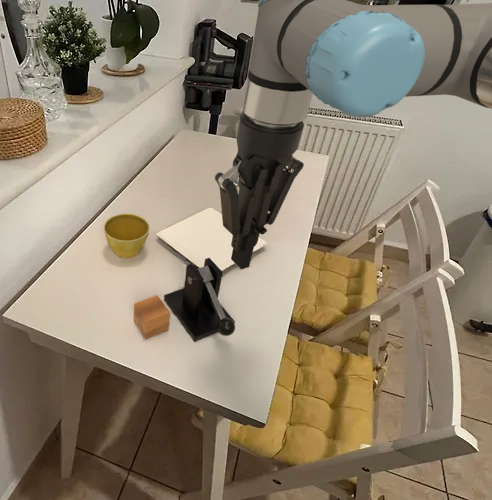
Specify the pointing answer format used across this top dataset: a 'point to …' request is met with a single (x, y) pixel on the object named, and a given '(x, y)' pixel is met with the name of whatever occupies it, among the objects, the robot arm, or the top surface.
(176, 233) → the plate
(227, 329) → the lever
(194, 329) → the black lever base
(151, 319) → the brown wooden cube
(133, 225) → the yellow bowl
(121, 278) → the top surface
